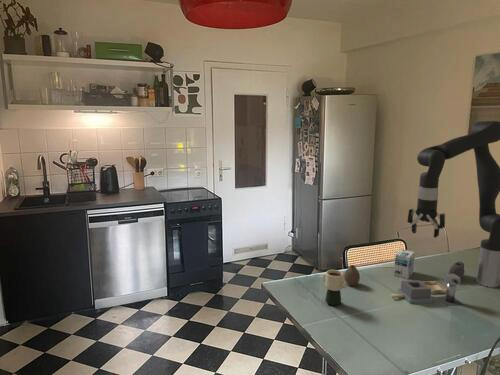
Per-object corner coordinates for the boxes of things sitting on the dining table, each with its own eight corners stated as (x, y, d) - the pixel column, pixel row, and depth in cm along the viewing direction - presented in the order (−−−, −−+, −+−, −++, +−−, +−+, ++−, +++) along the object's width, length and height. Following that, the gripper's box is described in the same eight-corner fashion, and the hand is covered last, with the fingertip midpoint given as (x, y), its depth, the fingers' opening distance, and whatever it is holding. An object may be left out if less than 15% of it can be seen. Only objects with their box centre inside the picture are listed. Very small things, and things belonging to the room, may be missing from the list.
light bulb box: (407, 279, 175) (409, 257, 174) (393, 275, 179) (395, 254, 178) (413, 272, 184) (415, 251, 182) (399, 268, 188) (401, 248, 186)
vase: (357, 281, 172) (359, 263, 171) (360, 287, 165) (361, 269, 164) (342, 280, 173) (343, 262, 171) (344, 287, 166) (346, 268, 164)
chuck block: (419, 292, 162) (420, 279, 161) (432, 303, 152) (434, 289, 151) (386, 293, 160) (387, 280, 159) (397, 304, 151) (398, 290, 150)
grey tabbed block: (449, 296, 157) (452, 272, 155) (459, 304, 150) (462, 279, 148) (440, 297, 157) (442, 272, 155) (450, 305, 150) (453, 279, 148)
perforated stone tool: (455, 285, 170) (457, 271, 169) (443, 281, 174) (444, 267, 172) (465, 276, 180) (467, 262, 179) (454, 273, 184) (455, 259, 183)
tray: (436, 284, 170) (436, 281, 169) (448, 293, 161) (448, 289, 161) (417, 285, 169) (417, 281, 169) (428, 294, 160) (429, 290, 160)
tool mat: (452, 297, 158) (452, 296, 158) (465, 306, 150) (465, 305, 150) (434, 297, 157) (434, 296, 157) (446, 306, 149) (446, 305, 149)
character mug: (349, 304, 150) (351, 274, 148) (340, 310, 145) (342, 279, 143) (326, 295, 157) (328, 266, 155) (316, 301, 152) (318, 271, 150)
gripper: (449, 198, 152) (445, 236, 155) (413, 194, 161) (411, 229, 164) (443, 201, 146) (439, 240, 149) (406, 196, 156) (404, 233, 159)
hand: (424, 235), depth 157 cm, fingers open, 8 cm apart
